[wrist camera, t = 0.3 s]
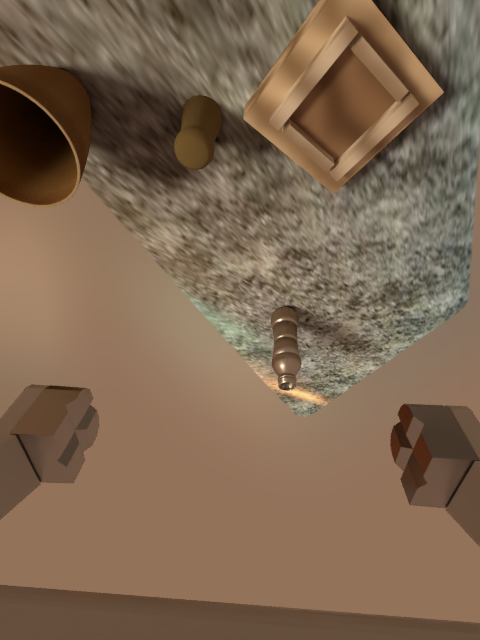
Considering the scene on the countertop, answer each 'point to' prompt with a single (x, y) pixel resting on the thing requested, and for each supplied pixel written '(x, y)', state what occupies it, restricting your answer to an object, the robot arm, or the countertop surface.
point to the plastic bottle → (285, 347)
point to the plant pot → (42, 134)
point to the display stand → (340, 91)
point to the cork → (198, 132)
